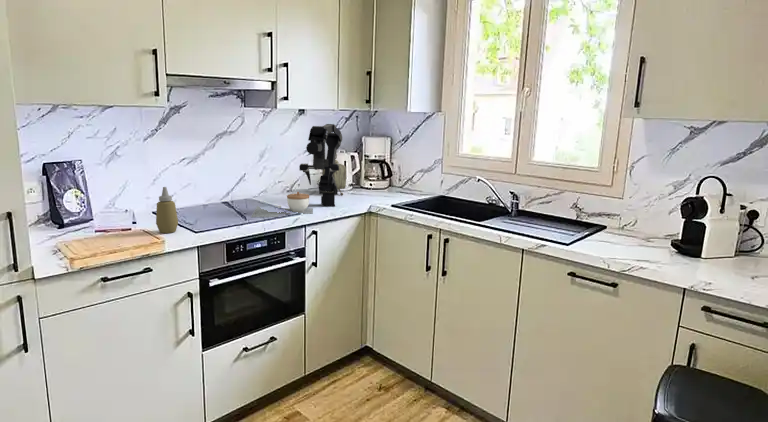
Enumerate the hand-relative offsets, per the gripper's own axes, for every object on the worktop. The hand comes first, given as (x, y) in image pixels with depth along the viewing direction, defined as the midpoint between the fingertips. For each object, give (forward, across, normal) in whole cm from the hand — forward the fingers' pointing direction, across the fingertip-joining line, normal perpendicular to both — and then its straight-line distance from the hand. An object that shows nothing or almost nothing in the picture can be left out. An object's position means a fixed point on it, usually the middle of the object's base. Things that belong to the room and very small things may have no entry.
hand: (319, 184), depth 240 cm
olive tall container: (+14, +8, +48) cm, 51 cm away
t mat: (+13, -17, 0) cm, 22 cm away
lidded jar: (+13, -10, 0) cm, 17 cm away
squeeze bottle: (+13, -60, -40) cm, 73 cm away
